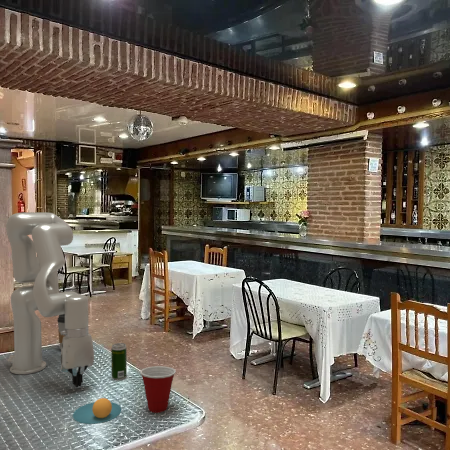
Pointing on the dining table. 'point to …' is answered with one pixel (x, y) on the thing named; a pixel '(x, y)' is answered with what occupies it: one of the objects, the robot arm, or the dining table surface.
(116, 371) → the green soda can
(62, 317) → the coffee cup
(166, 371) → the plastic cup
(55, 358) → the dining table surface
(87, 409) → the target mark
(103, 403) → the ball
